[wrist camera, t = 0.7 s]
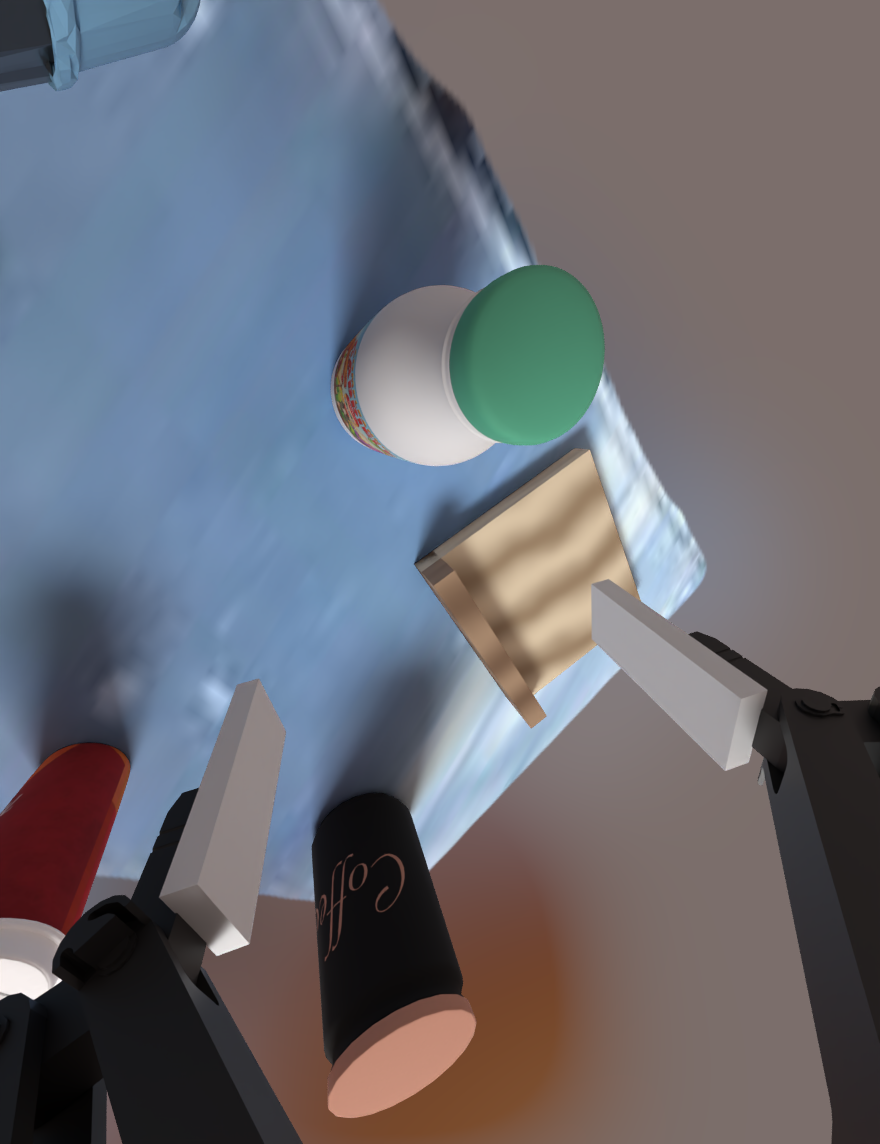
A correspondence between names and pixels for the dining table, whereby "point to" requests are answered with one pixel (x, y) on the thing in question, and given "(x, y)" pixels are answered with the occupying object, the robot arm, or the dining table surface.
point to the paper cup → (53, 857)
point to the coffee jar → (382, 959)
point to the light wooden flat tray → (532, 577)
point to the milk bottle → (472, 367)
